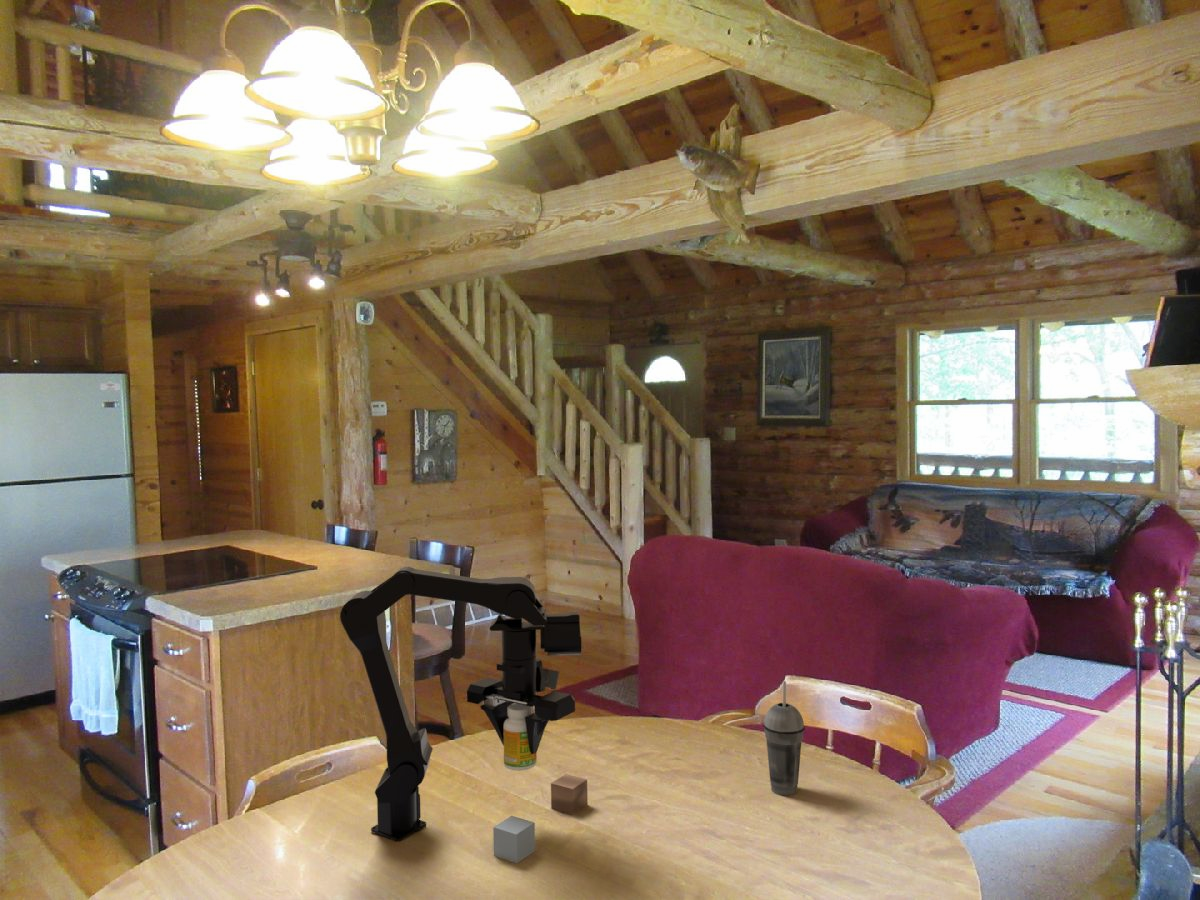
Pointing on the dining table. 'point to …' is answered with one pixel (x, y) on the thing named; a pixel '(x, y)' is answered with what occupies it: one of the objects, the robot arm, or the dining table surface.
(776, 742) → the beverage cup
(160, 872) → the dining table surface
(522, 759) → the supplement bottle
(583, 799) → the pinkish brown block
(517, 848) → the slate block
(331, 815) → the dining table surface
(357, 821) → the dining table surface
